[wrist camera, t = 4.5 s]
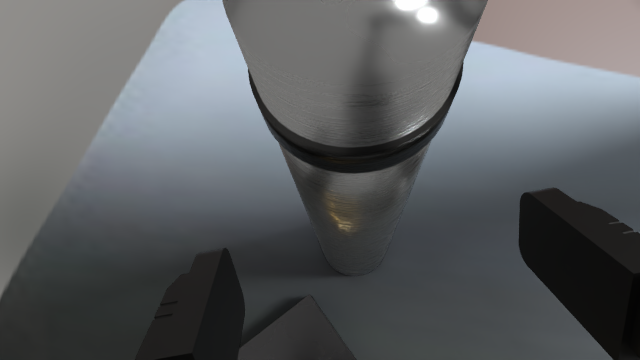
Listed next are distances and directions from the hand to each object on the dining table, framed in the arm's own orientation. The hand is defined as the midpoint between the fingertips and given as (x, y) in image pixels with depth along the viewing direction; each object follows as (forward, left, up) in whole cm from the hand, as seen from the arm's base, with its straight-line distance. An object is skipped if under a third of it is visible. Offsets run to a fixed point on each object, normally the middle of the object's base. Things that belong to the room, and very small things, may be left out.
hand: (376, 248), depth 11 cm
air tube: (-1, -3, -14) cm, 14 cm away
